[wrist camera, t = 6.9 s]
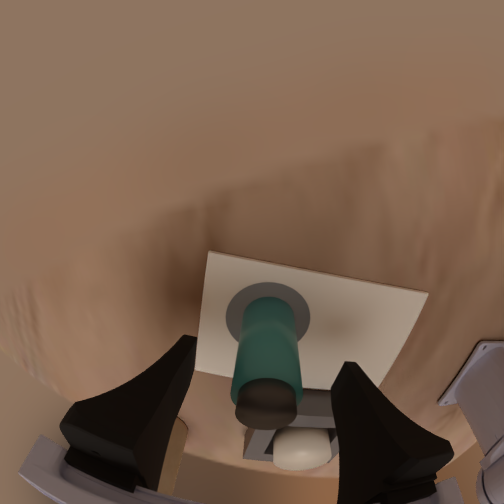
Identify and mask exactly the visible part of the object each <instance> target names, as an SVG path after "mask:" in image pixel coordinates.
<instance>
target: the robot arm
mask: <svg viewBox="0 0 504 504" xmlns="http://www.w3.org/2000/svg"><path fill="white" fill-rule="evenodd" d="M196 346H197V337H193V336H189V335H183V336H182V337H181V338H180V339H179V340H178V341H177V342H176V343H175V345H174V346H173V347H172V348H171V349H170V350H169V351H168V352H166V353H165V354H164V355H163V356H162V357H161V358H160V359H159V360H158V361H156V362H155V363H154V364H153V365H151V366H150V367H149V368H148V369H146V370H145V371H144V372H142V373H141V374H139V375H138V376H136V377H135V378H133V379H132V380H130V381H128V382H126V383H125V384H123V385H121V386H119V387H117V388H115V389H113V390H110V391H108V392H106V393H103V394H101V395H98V396H95V397H92V398H89V399H85V400H82V401H78V402H75V403H74V404H73V406H72V407H71V408H70V409H69V410H68V412H67V413H66V415H65V416H64V418H63V419H62V421H61V423H60V430H61V432H62V434H63V435H64V437H65V438H66V440H67V441H68V443H69V444H70V448H69V450H68V451H67V450H66V449H65V448H63V447H62V446H60V445H59V444H57V443H55V442H54V441H52V440H50V439H49V438H47V437H45V436H44V435H40V436H39V437H38V439H37V441H36V442H35V444H34V446H33V447H32V449H31V451H30V452H29V454H28V456H27V457H26V459H25V461H24V463H23V464H22V466H21V468H20V470H19V471H18V473H19V475H20V476H22V477H23V478H24V479H25V480H26V481H27V482H29V483H30V484H31V485H32V486H34V487H35V488H36V489H37V490H39V491H40V492H41V493H43V494H44V495H46V496H47V497H49V498H51V499H52V500H54V501H55V502H57V503H59V504H205V503H199V502H195V501H190V500H186V499H181V498H177V497H173V496H170V495H166V494H162V493H159V492H157V491H158V486H159V481H160V476H161V472H162V468H163V463H164V459H165V455H166V451H167V447H168V443H169V440H170V436H171V432H172V429H173V426H174V423H175V420H176V417H177V415H178V413H179V410H180V408H181V405H182V403H183V400H184V398H185V396H186V393H187V391H188V388H189V386H190V382H191V379H192V375H193V371H194V368H195V357H196ZM330 389H331V406H332V412H333V417H334V422H335V427H336V433H337V438H338V445H339V491H338V500H337V504H464V501H463V498H462V495H461V492H460V489H459V486H458V483H457V480H456V478H455V477H452V478H449V479H446V480H444V481H442V482H439V483H437V484H435V483H434V480H435V479H437V476H436V472H437V471H439V470H440V469H441V468H442V467H444V466H445V465H446V464H447V463H448V462H449V461H451V459H452V458H453V456H454V451H453V449H452V446H451V444H450V442H449V441H448V440H445V439H443V438H441V437H439V436H436V435H434V434H433V433H431V432H429V431H427V430H425V429H424V428H422V427H421V426H419V425H418V424H416V423H415V422H413V421H412V420H411V419H409V418H408V417H407V416H405V415H404V414H403V413H402V412H401V411H400V410H398V409H397V408H396V407H395V406H394V405H393V404H392V403H391V402H390V401H389V400H388V399H387V398H386V397H385V396H384V395H383V393H382V392H381V391H380V390H379V389H378V388H377V387H376V385H375V384H374V383H373V382H372V381H371V379H370V378H369V377H368V376H367V374H366V373H365V372H364V371H363V370H362V368H361V367H360V366H359V365H358V364H357V363H356V362H351V361H345V362H344V364H343V366H342V368H341V370H340V371H339V373H338V375H337V377H336V379H335V381H334V383H333V384H332V386H331V388H330ZM456 403H458V404H459V406H460V408H461V410H462V412H463V414H464V415H465V417H466V419H467V421H468V423H469V425H470V427H471V429H472V431H473V433H474V435H475V437H476V439H477V441H478V443H479V445H480V447H481V449H482V451H483V454H484V456H485V457H484V458H483V459H482V460H481V461H480V464H481V466H482V468H481V469H480V471H479V473H478V476H477V482H476V493H477V497H478V500H479V502H480V504H504V341H481V342H479V343H478V345H477V346H476V348H475V350H474V351H473V353H472V355H471V356H470V358H469V359H468V361H467V362H466V364H465V365H464V367H463V368H462V370H461V371H460V373H459V374H458V376H457V377H456V379H455V380H454V381H453V383H452V384H451V386H450V387H449V388H448V390H447V391H446V392H445V394H444V395H443V396H442V397H441V399H440V400H439V401H438V405H439V406H444V405H451V404H456Z"/></svg>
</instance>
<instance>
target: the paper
mask: <svg viewBox="0 0 504 504" xmlns="http://www.w3.org/2000/svg"><path fill="white" fill-rule="evenodd" d="M428 295H429V294H428V293H427V292H425V291H420V290H414V289H409V288H403V287H398V286H393V285H387V284H382V283H377V282H371V281H366V280H361V279H355V278H350V277H345V276H340V275H334V274H329V273H324V272H319V271H313V270H308V269H303V268H298V267H293V266H288V265H282V264H277V263H272V262H267V261H262V260H257V259H252V258H247V257H241V256H236V255H231V254H226V253H221V252H216V251H211V250H209V252H208V258H207V265H206V273H205V281H204V289H203V297H202V305H201V314H200V323H199V332H198V342H197V352H196V363H195V370H198V371H202V372H207V373H211V374H216V375H221V376H226V377H231V378H233V374H234V368H235V362H236V356H237V350H238V344H239V337H240V331H241V325H242V319H243V313H244V310H245V308H246V307H247V306H248V305H249V304H250V303H251V302H252V301H254V300H256V299H258V298H261V297H276V298H279V299H282V300H283V301H285V302H286V303H288V304H289V305H290V307H291V308H292V310H293V313H294V319H295V327H296V335H297V343H298V351H299V360H300V369H301V378H302V387H303V388H313V389H327V390H331V389H330V388H331V386H332V384H333V383H334V381H335V379H336V377H337V375H338V373H339V371H340V370H341V368H342V366H343V364H344V362H345V361H351V362H356V363H357V364H358V365H359V366H360V367H361V368H362V370H363V371H364V372H365V373H366V374H367V376H368V377H369V378H370V379H371V381H372V382H373V383H374V384H375V385H376V387H377V388H378V387H379V385H380V384H381V382H382V380H383V379H384V377H385V376H386V374H387V373H388V371H389V369H390V368H391V366H392V364H393V363H394V361H395V359H396V358H397V356H398V354H399V352H400V351H401V349H402V347H403V345H404V343H405V342H406V340H407V338H408V336H409V334H410V332H411V330H412V328H413V326H414V324H415V322H416V320H417V318H418V316H419V314H420V312H421V310H422V308H423V306H424V304H425V301H426V299H427V297H428Z"/></svg>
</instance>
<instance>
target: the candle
mask: <svg viewBox="0 0 504 504" xmlns="http://www.w3.org/2000/svg"><path fill="white" fill-rule="evenodd" d="M187 433H188V429H187V427H186V425H185V424H184V422H183V421H181V420H180V419H179V418H178V417H176V420H175V423H174V426H173V429H172V432H171V436H170V440H169V443H168V447H167V451H166V455H165V459H164V463H163V468H162V472H161V476H160V481H159V486H158V491H157V492H159V493H162V494H166V495H170V496H172V493H173V489H174V485H175V481H176V477H177V473H178V469H179V466H180V461H181V458H182V454H183V450H184V446H185V442H186V438H187Z"/></svg>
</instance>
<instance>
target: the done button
mask: <svg viewBox="0 0 504 504" xmlns="http://www.w3.org/2000/svg"><path fill="white" fill-rule="evenodd" d="M331 457H332V454H331V448H330V441H329V434H328V428H313V427H295V426H286V427H283V428H280V429H276V431H275V433H274V435H273V463H274V465H275V466H277V467H279V468H281V469H285V470H294V471H298V470H307V469H312V468H316V467H319V466H321V465H323V464H325V463H327V462H328V461H329V460H330V459H331Z"/></svg>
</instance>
